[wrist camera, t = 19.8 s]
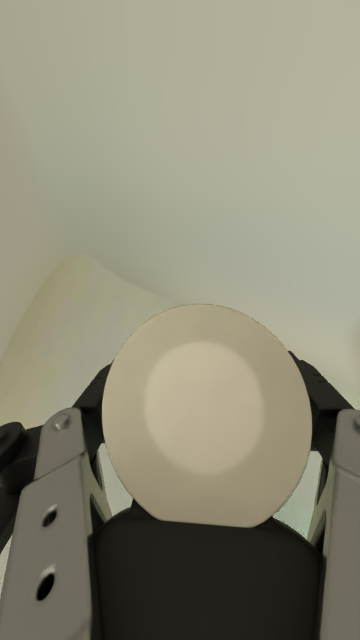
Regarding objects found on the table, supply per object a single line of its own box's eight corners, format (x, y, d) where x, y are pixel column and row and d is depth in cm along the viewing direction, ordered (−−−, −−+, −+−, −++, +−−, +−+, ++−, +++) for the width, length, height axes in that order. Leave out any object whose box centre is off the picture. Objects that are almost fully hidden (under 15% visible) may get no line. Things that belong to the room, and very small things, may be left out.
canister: (163, 423, 14) (59, 503, 4) (176, 352, 16) (126, 291, 6) (237, 439, 13) (344, 606, 3) (240, 362, 15) (310, 305, 5)
